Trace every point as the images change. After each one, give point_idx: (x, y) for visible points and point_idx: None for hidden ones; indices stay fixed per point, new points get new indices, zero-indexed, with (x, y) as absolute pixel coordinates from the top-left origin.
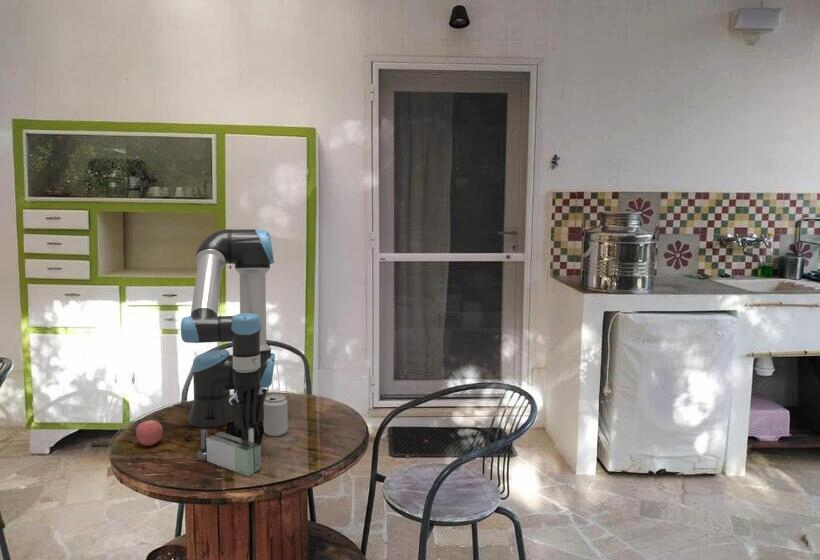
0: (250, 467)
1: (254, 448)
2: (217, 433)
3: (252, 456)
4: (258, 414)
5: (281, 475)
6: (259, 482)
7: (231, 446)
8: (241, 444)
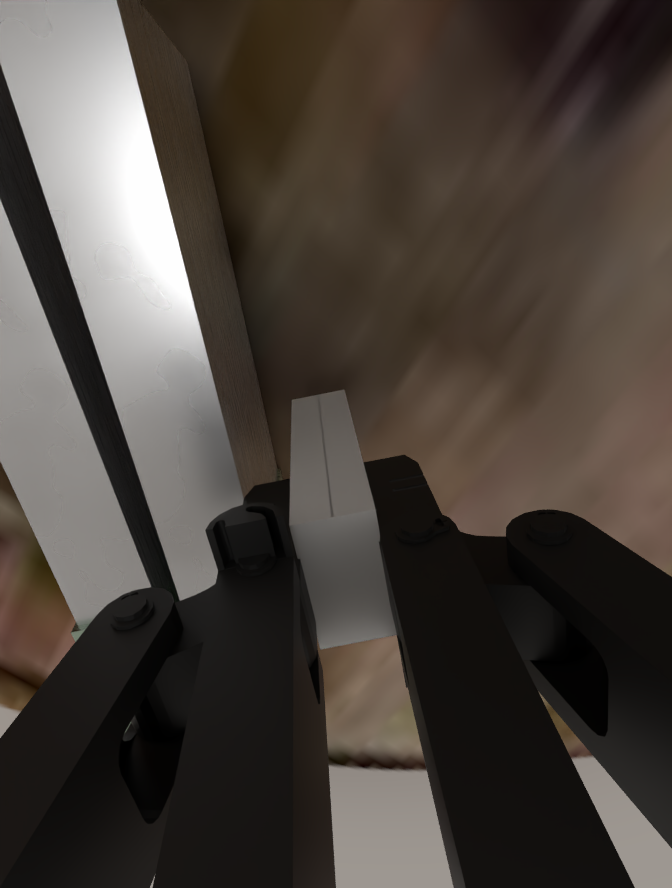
0: None
1: None
2: (21, 20)
3: None
4: (610, 770)
5: (361, 700)
6: None
7: (58, 576)
8: None
